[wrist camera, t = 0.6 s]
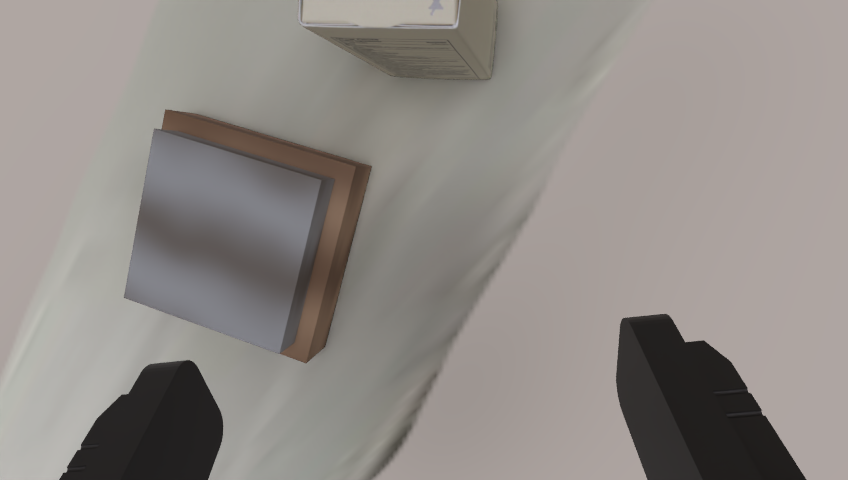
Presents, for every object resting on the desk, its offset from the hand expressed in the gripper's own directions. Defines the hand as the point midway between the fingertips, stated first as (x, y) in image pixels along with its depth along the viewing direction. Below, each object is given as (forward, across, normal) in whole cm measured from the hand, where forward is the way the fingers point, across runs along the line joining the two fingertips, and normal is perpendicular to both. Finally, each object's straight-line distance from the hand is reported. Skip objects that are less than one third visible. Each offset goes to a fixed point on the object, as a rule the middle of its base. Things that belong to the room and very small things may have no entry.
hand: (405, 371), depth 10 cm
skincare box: (+25, -1, 0) cm, 25 cm away
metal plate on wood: (+22, +12, +9) cm, 27 cm away
